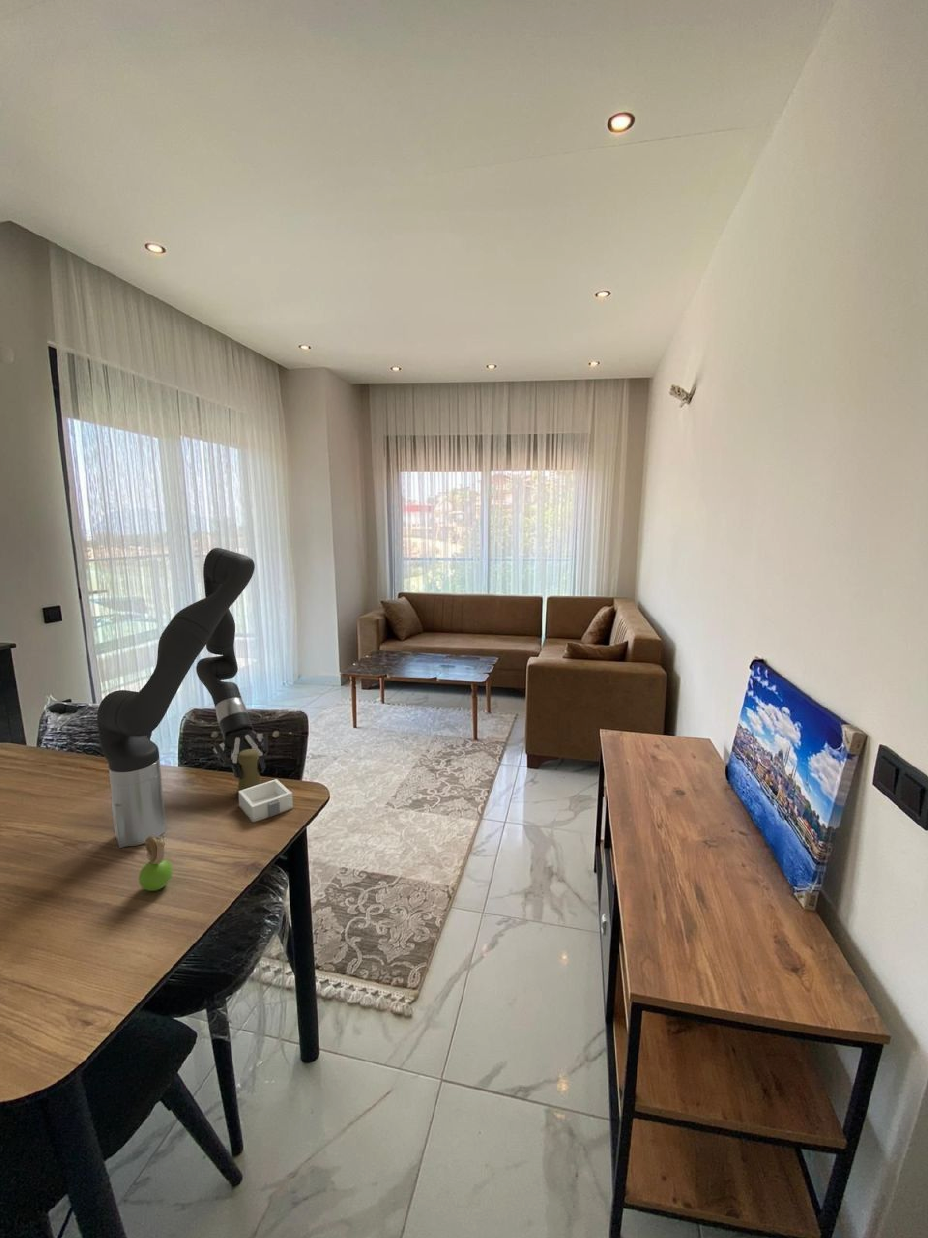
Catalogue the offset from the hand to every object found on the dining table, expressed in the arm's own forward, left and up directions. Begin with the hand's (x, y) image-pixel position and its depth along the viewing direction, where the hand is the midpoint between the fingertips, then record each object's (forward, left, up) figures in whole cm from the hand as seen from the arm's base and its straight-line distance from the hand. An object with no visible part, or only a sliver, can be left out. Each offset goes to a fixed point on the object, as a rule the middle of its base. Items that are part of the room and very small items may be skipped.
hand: (251, 774), depth 127 cm
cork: (0, +2, -5) cm, 6 cm away
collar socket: (0, -9, -5) cm, 11 cm away
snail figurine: (-26, -24, -5) cm, 36 cm away
